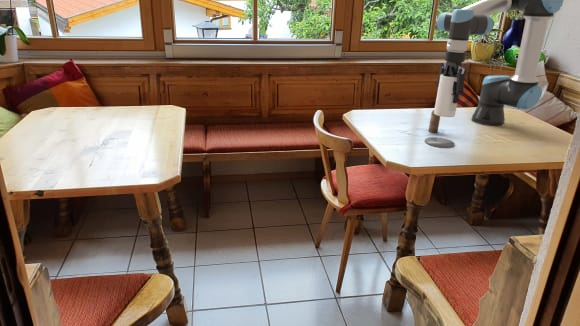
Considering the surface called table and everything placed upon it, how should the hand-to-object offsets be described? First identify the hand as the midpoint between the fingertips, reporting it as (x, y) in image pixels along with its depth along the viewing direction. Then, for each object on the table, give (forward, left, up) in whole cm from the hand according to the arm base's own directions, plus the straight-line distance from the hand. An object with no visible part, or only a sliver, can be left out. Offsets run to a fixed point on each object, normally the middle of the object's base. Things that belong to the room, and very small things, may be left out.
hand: (445, 107), depth 175 cm
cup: (0, 0, -3) cm, 3 cm away
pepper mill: (-6, -15, -15) cm, 22 cm away
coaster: (0, 0, -15) cm, 15 cm away
